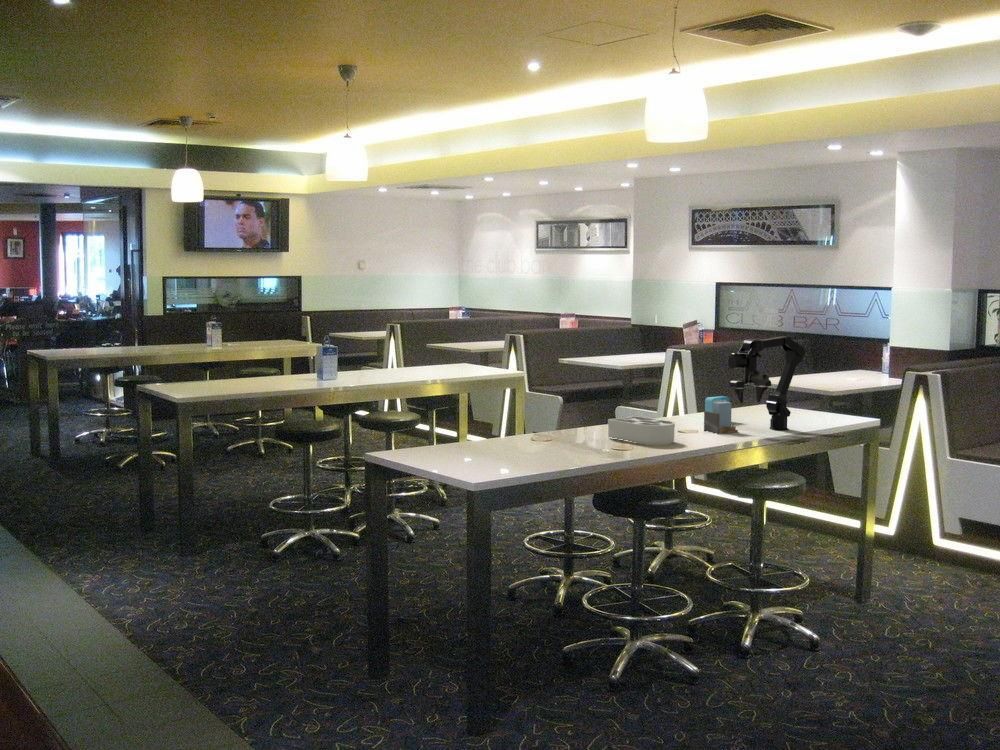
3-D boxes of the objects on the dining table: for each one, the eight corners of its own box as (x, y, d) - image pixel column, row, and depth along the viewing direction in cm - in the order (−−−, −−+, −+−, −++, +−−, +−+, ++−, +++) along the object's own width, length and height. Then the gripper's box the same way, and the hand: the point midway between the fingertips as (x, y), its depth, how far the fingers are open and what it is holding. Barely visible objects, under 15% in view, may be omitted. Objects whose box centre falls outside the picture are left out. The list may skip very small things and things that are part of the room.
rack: (724, 429, 460) (724, 409, 459) (737, 432, 451) (738, 412, 450) (703, 430, 455) (704, 411, 454) (717, 434, 446) (717, 413, 445)
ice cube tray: (634, 435, 446) (634, 415, 445) (682, 443, 424) (683, 422, 424) (607, 439, 436) (607, 419, 435) (655, 447, 414) (655, 426, 413)
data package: (711, 423, 477) (712, 398, 476) (704, 422, 481) (704, 397, 479) (729, 421, 484) (729, 396, 483) (722, 420, 487) (722, 395, 486)
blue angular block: (725, 428, 456) (726, 401, 455) (731, 429, 453) (731, 402, 451) (712, 429, 453) (713, 402, 452) (718, 430, 450) (718, 403, 449)
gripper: (744, 370, 437) (744, 406, 439) (779, 368, 445) (778, 403, 446) (729, 368, 448) (728, 403, 449) (763, 366, 455) (762, 401, 456)
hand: (750, 402), depth 450 cm, fingers open, 9 cm apart
